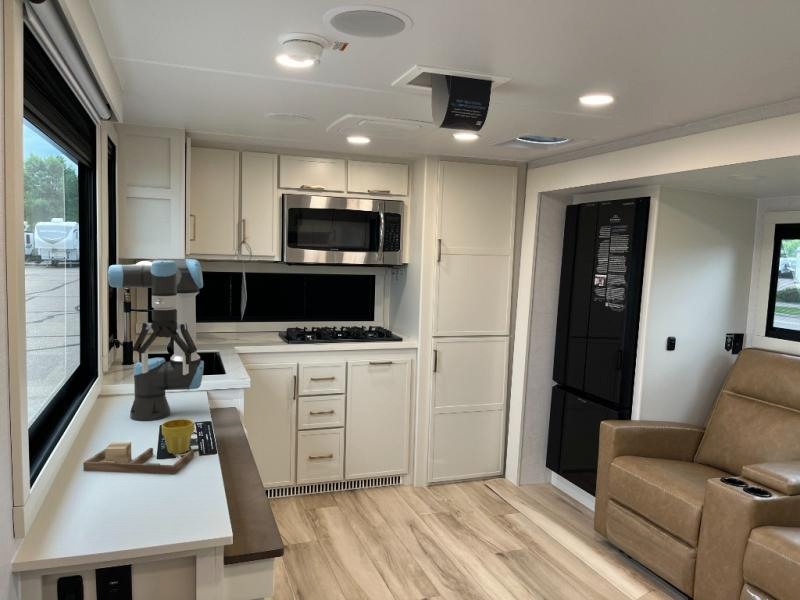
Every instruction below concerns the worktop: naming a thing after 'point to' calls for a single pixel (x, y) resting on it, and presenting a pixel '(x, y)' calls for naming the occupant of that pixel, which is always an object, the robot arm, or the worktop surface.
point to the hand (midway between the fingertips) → (165, 373)
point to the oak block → (118, 452)
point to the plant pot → (178, 435)
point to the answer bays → (135, 464)
